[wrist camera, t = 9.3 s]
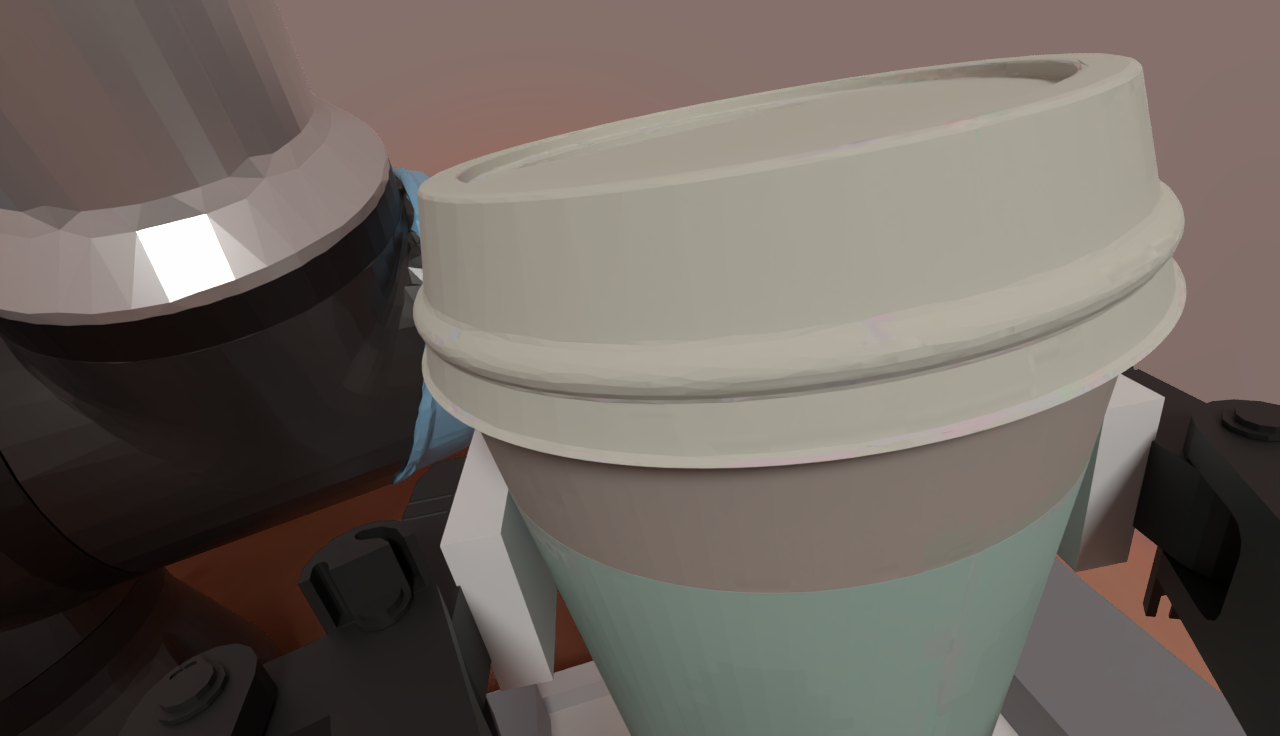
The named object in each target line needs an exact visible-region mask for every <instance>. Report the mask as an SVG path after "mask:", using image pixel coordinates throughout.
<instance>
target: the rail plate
mask: <svg viewBox="0 0 1280 736" xmlns="http://www.w3.org/2000/svg"><path fill="white" fill-rule="evenodd" d="M486 697H487V699H488V702H489V704H490V706H491V708H492V711H493V713H494V716H495V719H496V722H497V725H498V728H499V731H500V734H501V736H631V735H630V733H629V731H628V729H627V727H626V725H625V723H624V721H623V719H622V717H621V715H620V713H619V711H618V709H617V707H616V704H615V702H614V700H613V698H612V696H611V694H610V692H609V690H608V688H607V686H606V684H605V682H604V680H603V678H602V676H601V674H600V672H599V670H598V668H597V666H596V664H595V662H594V661H591V662H588V663H584V664H581V665H578V666H575V667H571V668H568V669H565V670H562V671H559V672H555V673H554V676H553V680H552V681H548V682H543V683H538V684H533V685H528V686H523V687H519V688H514V689H509V690H504V691H501V690H497V691H494V692H491V693H488V694H486ZM992 736H1247V735H1246V734H1245V732H1244V730H1243V728H1242V726H1241V725H1240V723H1239V721H1238V719H1237V718H1236V716H1235V714H1234V712H1233V711H1232V709H1231V707H1230V705H1229V704H1228V702H1227V700H1226V698H1225V697H1224V696H1223V695H1222V694H1221V693H1220V692H1218V691H1217V690H1216V689H1215V688H1214V687H1212V686H1211V685H1210V684H1209V683H1207V682H1206V681H1205V680H1204V679H1203V678H1201V677H1200V676H1199V675H1198V674H1197V673H1195V672H1194V671H1193V670H1192V669H1190V668H1189V667H1188V666H1187V665H1186V664H1184V663H1183V662H1182V661H1181V660H1180V659H1178V658H1177V657H1176V656H1175V655H1173V654H1172V653H1171V652H1170V651H1169V650H1167V649H1166V648H1165V647H1164V646H1163V645H1161V644H1160V643H1159V642H1158V641H1156V640H1155V639H1154V638H1153V637H1152V636H1150V635H1149V634H1148V633H1147V632H1146V631H1144V630H1143V629H1142V628H1141V627H1139V626H1138V625H1137V624H1136V623H1135V622H1133V621H1132V620H1131V619H1130V618H1129V617H1127V616H1126V615H1125V614H1124V613H1122V612H1121V611H1120V610H1119V609H1118V608H1116V607H1115V606H1114V605H1113V604H1111V603H1110V602H1109V601H1108V600H1107V599H1105V598H1104V597H1103V596H1102V595H1101V594H1099V593H1098V592H1097V591H1096V590H1094V589H1093V588H1092V587H1091V586H1090V585H1088V584H1087V583H1086V582H1085V581H1084V580H1082V579H1081V578H1080V577H1079V576H1077V575H1076V574H1075V573H1074V572H1073V571H1071V570H1070V569H1069V568H1068V567H1067V566H1065V565H1064V564H1063V563H1062V562H1060V561H1059V560H1058V559H1057V558H1056V557H1055V559H1054V562H1053V565H1052V568H1051V571H1050V574H1049V576H1048V579H1047V582H1046V585H1045V588H1044V590H1043V593H1042V596H1041V599H1040V602H1039V605H1038V607H1037V610H1036V613H1035V616H1034V619H1033V622H1032V624H1031V627H1030V630H1029V633H1028V636H1027V638H1026V641H1025V644H1024V647H1023V650H1022V653H1021V655H1020V658H1019V661H1018V664H1017V667H1016V670H1015V672H1014V675H1013V678H1012V681H1011V684H1010V687H1009V689H1008V692H1007V695H1006V698H1005V701H1004V703H1003V706H1002V709H1001V712H1000V715H999V718H998V720H997V723H996V726H995V729H994V732H993V735H992Z"/></svg>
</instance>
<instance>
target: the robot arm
mask: <svg viewBox="0 0 1280 736" xmlns="http://www.w3.org/2000/svg"><path fill="white" fill-rule="evenodd" d="M429 178H430V177H428V176H427V175H425V173H423V172H420V171H413V170H411V171H407V170H405V169H403V168H400V169H398V170H396V167H394V168H391V164H390V161H389V158H388V155H387V152H386V150H385V147H384V144H383V142H382V140H381V139H380V137H379V135H378V134H377V133H376V132H375V131H374V130H373V129H372V128H371V127H370V126H369V125H368V124H366V123H364V122H363V121H362V120H361V119H359V118H357V117H355V116H353V115H351V114H350V113H348V112H346V111H344V110H342V109H340V108H339V107H337V106H335V105H333V104H331V103H329V102H328V101H326V100H324V99H322V98H321V97H319V96H317V95H315V94H313V92H312V91H311V89H310V87H309V84H308V81H307V79H306V77H305V74H304V71H303V69H302V66H301V64H300V61H299V59H298V56H297V53H296V51H295V48H294V46H293V43H292V40H291V38H290V36H289V33H288V30H287V28H286V25H285V22H284V20H283V17H282V15H281V13H280V10H279V7H278V5H277V2H276V0H0V736H501V734H500V731H499V728H498V725H497V722H496V719H495V716H494V713H493V711H492V708H491V706H490V704H489V702H488V699H487V697H486V693H487V687H488V680H489V673H490V667H491V668H492V671H493V673H494V675H495V678H496V680H497V683H498V685H499V687H500V690H501V691H504V690H509V689H514V688H519V687H523V686H528V685H533V684H538V683H543V682H548V681H552V680H553V676H554V652H555V628H556V604H557V586H556V584H555V582H554V580H553V578H552V576H551V574H550V572H549V570H548V568H547V566H546V564H545V562H544V560H543V558H542V556H541V554H540V552H539V550H538V548H537V546H536V544H535V542H534V540H533V538H532V536H531V534H530V532H529V530H528V528H527V526H526V524H525V522H524V520H523V518H522V516H521V514H520V512H519V510H518V508H517V506H516V504H515V502H514V500H513V498H512V496H511V494H510V492H509V489H508V487H507V485H506V483H505V481H504V479H503V477H502V475H501V473H500V471H499V469H498V467H497V465H496V463H495V461H494V458H493V456H492V454H491V452H490V450H489V448H488V446H487V444H486V442H485V440H484V438H483V436H482V434H481V432H480V431H478V430H476V429H474V428H472V427H470V426H468V425H467V424H465V423H463V422H461V421H460V420H458V419H457V418H455V417H454V416H452V415H451V414H450V413H449V412H447V411H446V410H445V409H444V408H443V407H442V406H441V405H440V404H439V403H438V402H437V401H436V400H435V399H434V398H433V396H432V395H431V393H430V392H429V390H428V388H427V386H426V384H425V381H424V378H423V373H422V358H423V353H424V350H425V347H426V343H425V342H424V340H423V339H422V337H421V336H420V334H419V333H418V331H417V328H416V326H415V323H414V318H413V306H414V302H415V299H416V296H417V293H418V290H419V289H420V287H421V285H422V284H423V270H422V255H421V241H420V226H419V211H418V196H417V191H418V189H419V187H420V185H421V184H422V183H423V182H425V181H426V180H427V179H429ZM469 445H470V448H469V451H468V454H467V456H463V457H459V458H454V459H449V460H444V461H439V460H441V459H444V458H446V457H448V456H450V455H453V454H455V453H457V452H459V451H461V450H463V449H465V448H466V447H468V446H469ZM437 461H439V462H437ZM432 463H434V464H433V465H432V466H431V467H430V468H429V469H428V471H427V472H426V473H425V474H424V475H423V476H422V477H421V478H420V479H419V480H418V481H417V483H416V485H415V488H414V490H413V493H412V495H411V498H410V500H409V505H408V506H407V507H406V510H405V512H404V515H403V517H402V520H403V522H399V521H395V520H386V521H375V522H371V523H368V524H365V525H362V526H359V527H356V528H353V529H351V530H349V531H348V532H346V533H344V534H342V535H340V536H338V537H336V538H334V539H333V540H332V541H330V542H329V543H328V544H327V545H325V546H324V547H323V548H322V549H320V550H319V551H318V552H316V553H315V555H314V556H313V557H312V558H311V560H310V561H309V562H308V563H307V565H306V566H305V567H304V568H303V570H302V573H301V576H300V580H299V583H298V585H299V587H300V589H301V590H302V592H303V594H304V595H305V597H306V599H307V601H308V602H309V604H310V606H311V608H312V609H313V611H314V613H315V615H316V616H317V618H318V620H319V621H320V623H321V625H322V627H323V628H324V630H325V632H326V634H327V635H325V636H323V637H321V638H319V639H318V640H316V641H314V642H312V643H310V644H307V645H305V646H303V647H301V648H298V649H296V650H294V651H292V652H290V653H287V654H285V655H283V656H282V655H281V654H280V652H279V651H278V649H277V647H276V646H275V644H274V643H273V641H272V640H271V639H270V638H269V636H268V635H267V634H266V633H264V632H263V631H262V630H261V629H260V628H259V627H257V626H256V625H254V624H252V623H251V622H249V621H247V620H246V619H244V618H242V617H241V616H239V615H237V614H236V613H234V612H232V611H231V610H229V609H227V608H226V607H224V606H222V605H221V604H219V603H217V602H216V601H214V600H212V599H211V598H209V597H207V596H206V595H204V594H202V593H201V592H199V591H197V590H196V589H194V588H192V587H191V586H189V585H187V584H186V583H184V582H182V581H181V580H179V579H177V578H176V577H174V576H173V575H172V574H170V573H169V571H168V570H167V569H166V567H165V566H167V565H170V564H173V563H175V562H178V561H181V560H184V559H186V558H189V557H192V556H195V555H197V554H200V553H203V552H206V551H208V550H211V549H214V548H217V547H219V546H222V545H225V544H227V543H230V542H233V541H236V540H238V539H241V538H244V537H247V536H249V535H252V534H255V533H258V532H260V531H263V530H266V529H269V528H271V527H274V526H277V525H279V524H282V523H285V522H288V521H290V520H293V519H296V518H299V517H301V516H304V515H307V514H310V513H312V512H315V511H318V510H321V509H323V508H326V507H329V506H331V505H334V504H337V503H340V502H342V501H345V500H348V499H351V498H353V497H356V496H359V495H362V494H364V493H367V492H370V491H373V490H375V489H378V488H381V487H383V486H386V485H389V484H397V483H400V482H403V481H405V480H406V479H407V478H409V477H410V476H411V475H412V474H413V473H414V472H415V471H417V470H419V469H421V468H423V467H426V466H428V465H430V464H432ZM1135 528H1136V529H1137V530H1138V531H1140V532H1141V533H1142V534H1144V535H1145V536H1146V537H1147V538H1149V539H1150V540H1151V541H1152V542H1154V543H1155V544H1156V545H1157V546H1158V547H1157V550H1156V554H1155V558H1154V562H1153V566H1152V570H1151V574H1150V578H1149V582H1148V585H1147V589H1146V593H1145V597H1144V601H1143V606H1144V611H1145V615H1146V616H1151V617H1155V616H1156V613H1157V609H1158V605H1159V602H1160V598H1161V596H1164V595H1167V597H1168V598H1169V600H1170V602H1171V604H1172V605H1171V609H1170V612H1169V618H1172V619H1181V621H1182V623H1183V625H1184V626H1185V628H1186V630H1187V632H1188V633H1189V635H1190V637H1191V639H1192V640H1193V642H1194V644H1195V646H1196V647H1197V649H1198V651H1199V653H1200V654H1201V656H1202V658H1203V660H1204V662H1205V663H1206V665H1207V667H1208V669H1209V670H1210V672H1211V674H1212V676H1213V677H1214V679H1215V681H1216V683H1217V684H1218V686H1219V688H1220V690H1221V691H1222V693H1223V695H1224V697H1225V698H1226V700H1227V702H1228V704H1229V705H1230V707H1231V709H1232V711H1233V712H1234V714H1235V716H1236V718H1237V719H1238V721H1239V723H1240V725H1241V726H1242V728H1243V730H1244V732H1245V734H1246V735H1247V736H1280V405H1276V404H1271V403H1266V402H1261V401H1248V400H1222V401H1212V402H1209V403H1205V402H1203V401H1201V400H1199V399H1197V398H1195V397H1193V396H1191V395H1189V394H1187V393H1185V392H1183V391H1181V390H1179V389H1177V388H1175V387H1173V386H1171V385H1169V384H1167V383H1165V382H1163V381H1161V380H1159V379H1157V378H1155V377H1153V376H1151V375H1149V374H1147V373H1145V372H1143V371H1141V370H1139V369H1138V370H1134V368H1133V366H1132V367H1130V368H1129V369H1127V370H1126V371H1124V372H1123V373H1121V374H1119V375H1118V378H1117V381H1116V384H1115V387H1114V390H1113V393H1112V396H1111V399H1110V402H1109V404H1108V407H1107V410H1106V413H1105V416H1104V419H1103V422H1102V425H1101V428H1100V431H1099V433H1098V436H1097V439H1096V442H1095V445H1094V448H1093V451H1092V454H1091V458H1090V461H1089V463H1088V466H1087V469H1086V472H1085V475H1084V477H1083V480H1082V483H1081V486H1080V489H1079V492H1078V494H1077V497H1076V500H1075V503H1074V506H1073V509H1072V511H1071V514H1070V517H1069V520H1068V523H1067V525H1066V528H1065V531H1064V534H1063V537H1062V540H1061V542H1060V545H1059V548H1058V551H1057V554H1058V555H1059V556H1060V557H1061V558H1062V559H1063V560H1064V561H1065V562H1066V563H1067V564H1068V565H1069V566H1070V567H1071V568H1072V569H1073V570H1074V571H1075V572H1079V571H1084V570H1088V569H1093V568H1098V567H1103V566H1108V565H1113V564H1117V563H1122V562H1127V560H1128V555H1129V551H1130V547H1131V542H1132V538H1133V534H1134V529H1135Z"/></svg>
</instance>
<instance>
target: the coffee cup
mask: <svg viewBox="0 0 1280 736" xmlns="http://www.w3.org/2000/svg"><path fill="white" fill-rule="evenodd" d="M417 196H418V211H419V226H420V241H421V255H422V270H423V284H422V285H421V287H420V289H419V290H418V293H417V296H416V299H415V302H414V306H413V318H414V323H415V326H416V328H417V331H418V333H419V334H420V336H421V337H422V339H423V340H424V342H425V343H426V347H425V350H424V353H423V358H422V373H423V378H424V381H425V384H426V386H427V388H428V390H429V392H430V393H431V395H432V396H433V398H434V399H435V400H436V401H437V402H438V403H439V404H440V405H441V406H442V407H443V408H444V409H445V410H446V411H447V412H449V413H450V414H451V415H452V416H454V417H455V418H457V419H458V420H460V421H461V422H463V423H465V424H467V425H468V426H470V427H472V428H474V429H476V430H478V431H480V432H481V434H482V436H483V438H484V440H485V442H486V444H487V446H488V448H489V450H490V452H491V454H492V456H493V458H494V461H495V463H496V465H497V467H498V469H499V471H500V473H501V475H502V477H503V479H504V481H505V483H506V485H507V487H508V489H509V492H510V494H511V496H512V498H513V500H514V502H515V504H516V506H517V508H518V510H519V512H520V514H521V516H522V518H523V520H524V522H525V524H526V526H527V528H528V530H529V532H530V534H531V536H532V538H533V540H534V542H535V544H536V546H537V548H538V550H539V552H540V554H541V556H542V558H543V560H544V562H545V564H546V566H547V568H548V570H549V572H550V574H551V576H552V578H553V580H554V582H555V584H556V586H557V588H558V590H559V592H560V594H561V596H562V598H563V600H564V602H565V604H566V606H567V608H568V610H569V612H570V614H571V616H572V618H573V620H574V622H575V624H576V626H577V628H578V630H579V632H580V634H581V636H582V638H583V640H584V642H585V644H586V646H587V648H588V650H589V652H590V654H591V656H592V658H593V660H594V662H595V664H596V666H597V668H598V670H599V672H600V674H601V676H602V678H603V680H604V682H605V684H606V686H607V688H608V690H609V692H610V694H611V696H612V698H613V700H614V702H615V704H616V707H617V709H618V711H619V713H620V715H621V717H622V719H623V721H624V723H625V725H626V727H627V729H628V731H629V733H630V735H631V736H992V735H993V732H994V729H995V726H996V723H997V720H998V718H999V715H1000V712H1001V709H1002V706H1003V703H1004V701H1005V698H1006V695H1007V692H1008V689H1009V687H1010V684H1011V681H1012V678H1013V675H1014V672H1015V670H1016V667H1017V664H1018V661H1019V658H1020V655H1021V653H1022V650H1023V647H1024V644H1025V641H1026V638H1027V636H1028V633H1029V630H1030V627H1031V624H1032V622H1033V619H1034V616H1035V613H1036V610H1037V607H1038V605H1039V602H1040V599H1041V596H1042V593H1043V590H1044V588H1045V585H1046V582H1047V579H1048V576H1049V574H1050V571H1051V568H1052V565H1053V562H1054V559H1055V557H1056V554H1057V551H1058V548H1059V545H1060V542H1061V540H1062V537H1063V534H1064V531H1065V528H1066V525H1067V523H1068V520H1069V517H1070V514H1071V511H1072V509H1073V506H1074V503H1075V500H1076V497H1077V494H1078V492H1079V489H1080V486H1081V483H1082V480H1083V477H1084V475H1085V472H1086V469H1087V466H1088V463H1089V461H1090V458H1091V454H1092V451H1093V448H1094V445H1095V442H1096V439H1097V436H1098V433H1099V431H1100V428H1101V425H1102V422H1103V419H1104V416H1105V413H1106V410H1107V407H1108V404H1109V402H1110V399H1111V396H1112V393H1113V390H1114V387H1115V384H1116V381H1117V378H1118V375H1119V374H1121V373H1123V372H1124V371H1126V370H1127V369H1129V368H1130V367H1132V366H1133V365H1135V364H1136V363H1138V362H1139V361H1140V360H1141V359H1143V358H1144V357H1145V356H1147V355H1148V354H1149V353H1150V352H1151V351H1153V350H1154V349H1155V348H1156V347H1157V346H1158V345H1159V344H1160V343H1161V342H1162V341H1163V340H1164V339H1165V338H1166V337H1167V335H1168V334H1169V333H1170V332H1171V330H1172V329H1173V328H1174V326H1175V325H1176V323H1177V321H1178V319H1179V318H1180V316H1181V313H1182V311H1183V309H1184V305H1185V301H1186V284H1185V279H1184V276H1183V274H1182V271H1181V269H1180V268H1179V266H1178V264H1177V263H1176V261H1175V260H1174V259H1173V257H1172V254H1173V253H1174V251H1175V249H1176V247H1177V245H1178V243H1179V241H1180V239H1181V237H1182V235H1183V230H1184V224H1185V220H1184V214H1183V209H1182V206H1181V204H1180V202H1179V200H1178V198H1177V197H1176V196H1175V194H1174V193H1173V191H1172V190H1171V189H1170V188H1169V187H1168V186H1167V185H1166V184H1164V183H1163V182H1161V181H1160V180H1159V177H1158V171H1157V164H1156V157H1155V150H1154V143H1153V136H1152V129H1151V123H1150V116H1149V109H1148V102H1147V95H1146V90H1145V82H1144V75H1143V69H1142V66H1141V64H1139V63H1138V62H1137V61H1136V60H1135V59H1133V58H1129V57H1124V56H1119V55H1111V54H1097V53H1096V54H1095V53H1091V54H1090V53H1073V54H1053V55H1035V56H1034V55H1033V56H1022V57H1011V58H1000V59H989V60H980V61H971V62H963V63H954V64H945V65H937V66H929V67H921V68H915V69H906V70H900V71H892V72H885V73H878V74H871V75H864V76H858V77H852V78H846V79H839V80H833V81H827V82H820V83H814V84H808V85H802V86H796V87H790V88H784V89H778V90H772V91H767V92H762V93H756V94H750V95H745V96H739V97H734V98H728V99H723V100H718V101H713V102H708V103H703V104H697V105H692V106H687V107H682V108H677V109H673V110H668V111H663V112H658V113H654V114H649V115H644V116H639V117H635V118H630V119H625V120H621V121H616V122H612V123H607V124H603V125H599V126H595V127H590V128H586V129H582V130H578V131H573V132H569V133H565V134H561V135H557V136H553V137H550V138H546V139H542V140H538V141H534V142H530V143H527V144H523V145H519V146H516V147H512V148H509V149H505V150H502V151H499V152H496V153H492V154H488V155H485V156H482V157H479V158H476V159H473V160H470V161H467V162H464V163H462V164H459V165H456V166H454V167H451V168H449V169H447V170H444V171H442V172H439V173H438V174H436V175H434V176H433V177H431V178H429V179H427V180H426V181H425V182H423V183H422V184H421V185H420V187H419V189H418V191H417Z"/></svg>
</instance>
